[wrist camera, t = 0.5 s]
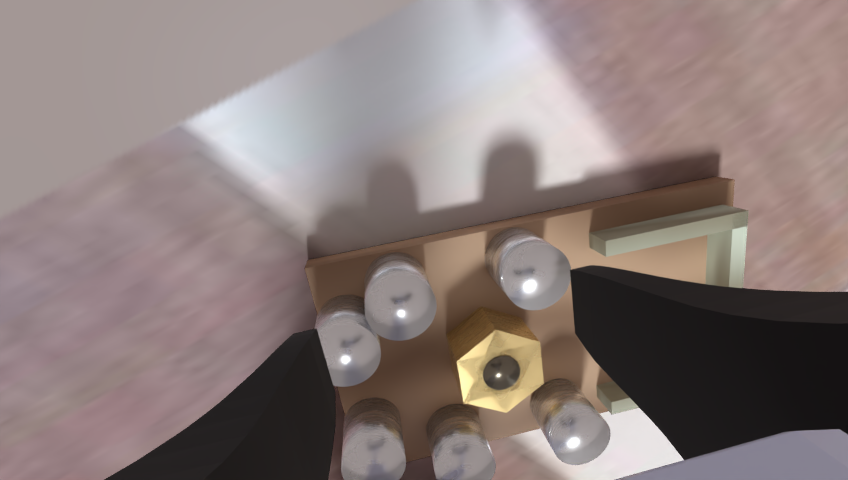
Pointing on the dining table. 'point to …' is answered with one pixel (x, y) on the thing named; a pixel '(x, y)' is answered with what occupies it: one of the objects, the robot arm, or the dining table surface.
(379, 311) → the spacers
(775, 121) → the dining table surface
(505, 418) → the tan tray
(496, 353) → the nut
